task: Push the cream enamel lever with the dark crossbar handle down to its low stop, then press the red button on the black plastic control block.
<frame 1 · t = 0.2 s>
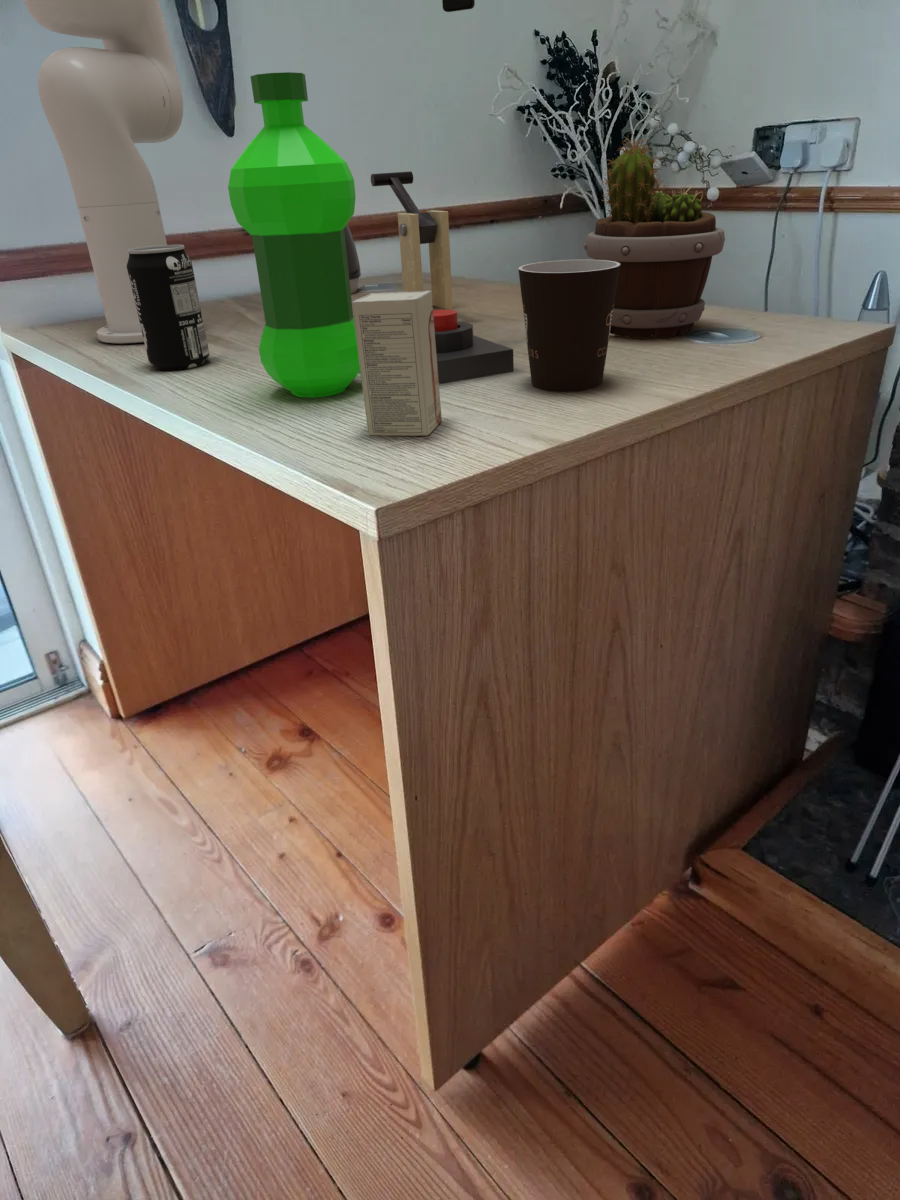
hand: (436, 3, 74), 31 cm above the table, tool pointing down, fingers open, 9 cm apart
pump dispenser: (331, 304, 122), on the table
coffee mug: (573, 381, 74), on the table
lever bracket: (429, 319, 105), on the table
flowerpot: (647, 332, 92), on the table
button: (439, 321, 78), point 4 cm above the table, slide at 0.1 cm
control block: (441, 368, 81), on the table
beverage can: (181, 366, 89), on the table
plastic bottle: (319, 392, 75), on the table
medicine carton: (404, 431, 63), on the table
lever: (408, 204, 102), point 14 cm above the table, hinge at 30.0°
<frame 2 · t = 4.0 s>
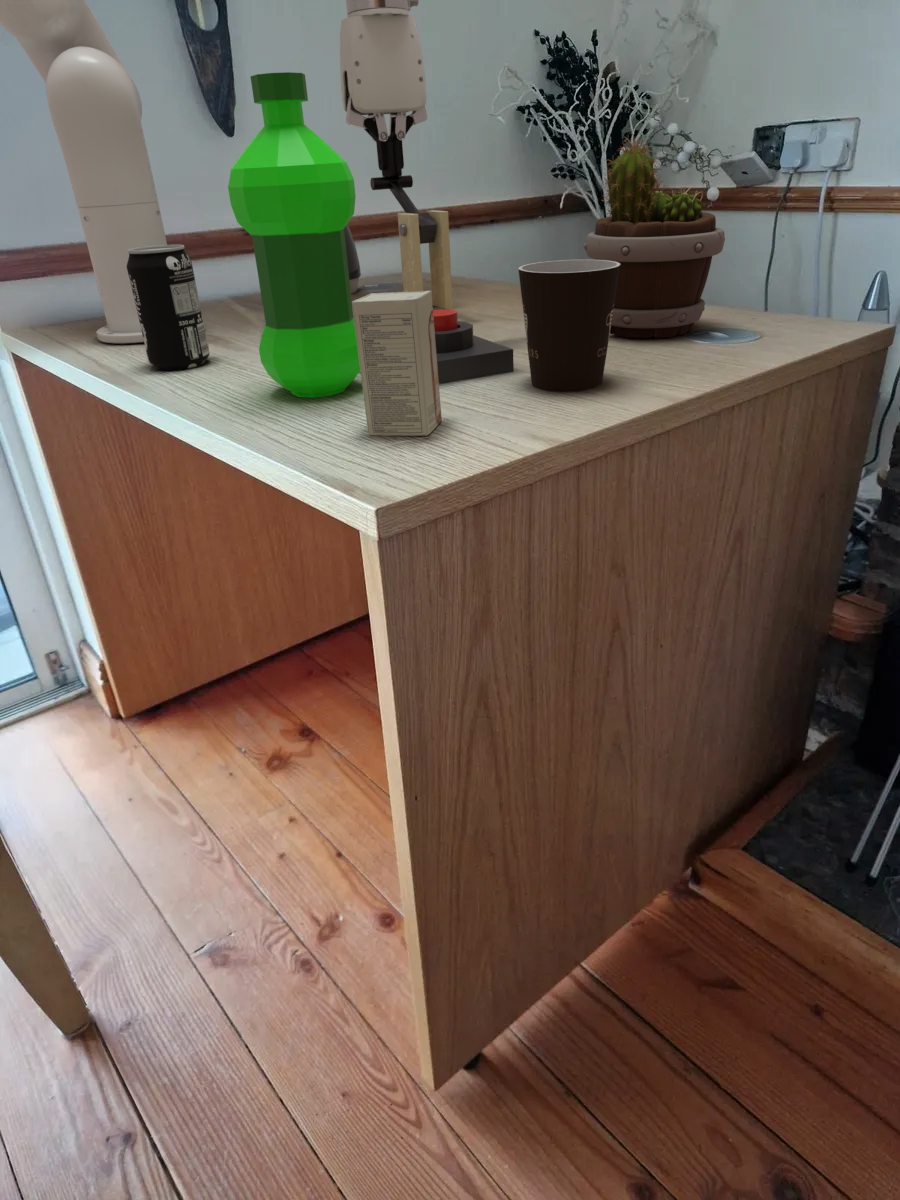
hand: (392, 175, 105), 17 cm above the table, tool pointing down, fingers closed
lever: (408, 206, 102), point 13 cm above the table, hinge at 27.3°, touching gripper
everything else where it was.
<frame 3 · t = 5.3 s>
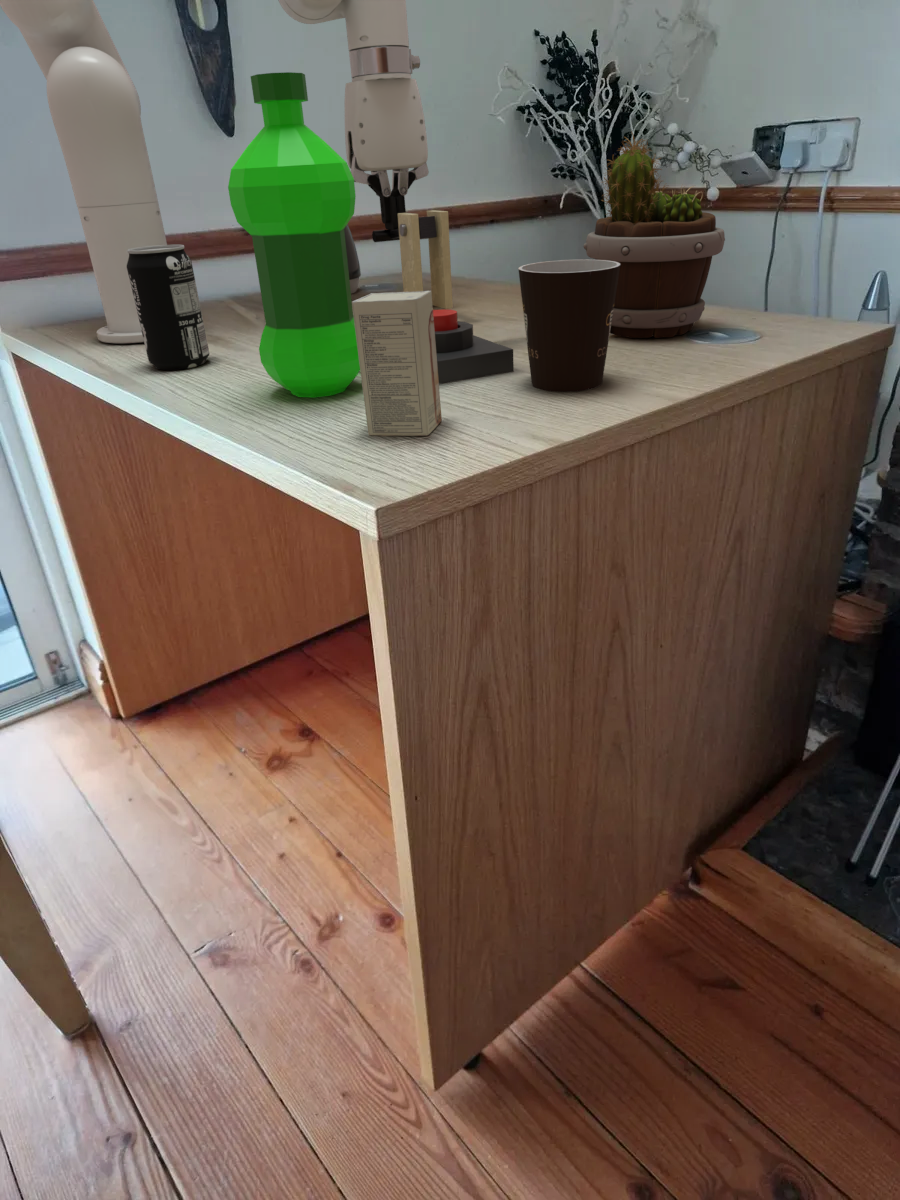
hand: (394, 228, 108), 10 cm above the table, tool pointing down, fingers closed
lever: (408, 231, 104), point 10 cm above the table, hinge at -6.8°, touching gripper
everything else where it was.
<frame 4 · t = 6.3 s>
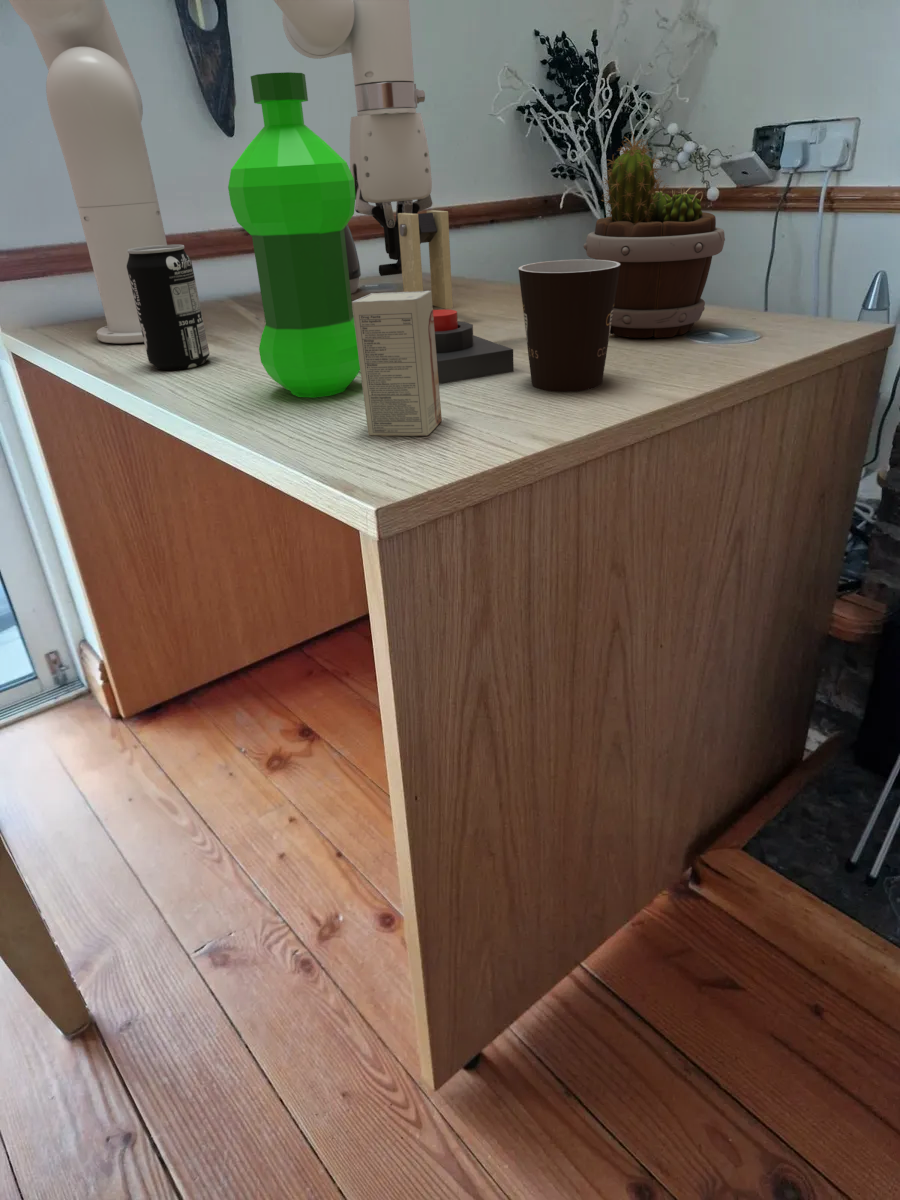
hand: (398, 258, 109), 7 cm above the table, tool pointing down, fingers closed
lever: (411, 248, 104), point 8 cm above the table, hinge at -29.9°, touching gripper
everything else where it was.
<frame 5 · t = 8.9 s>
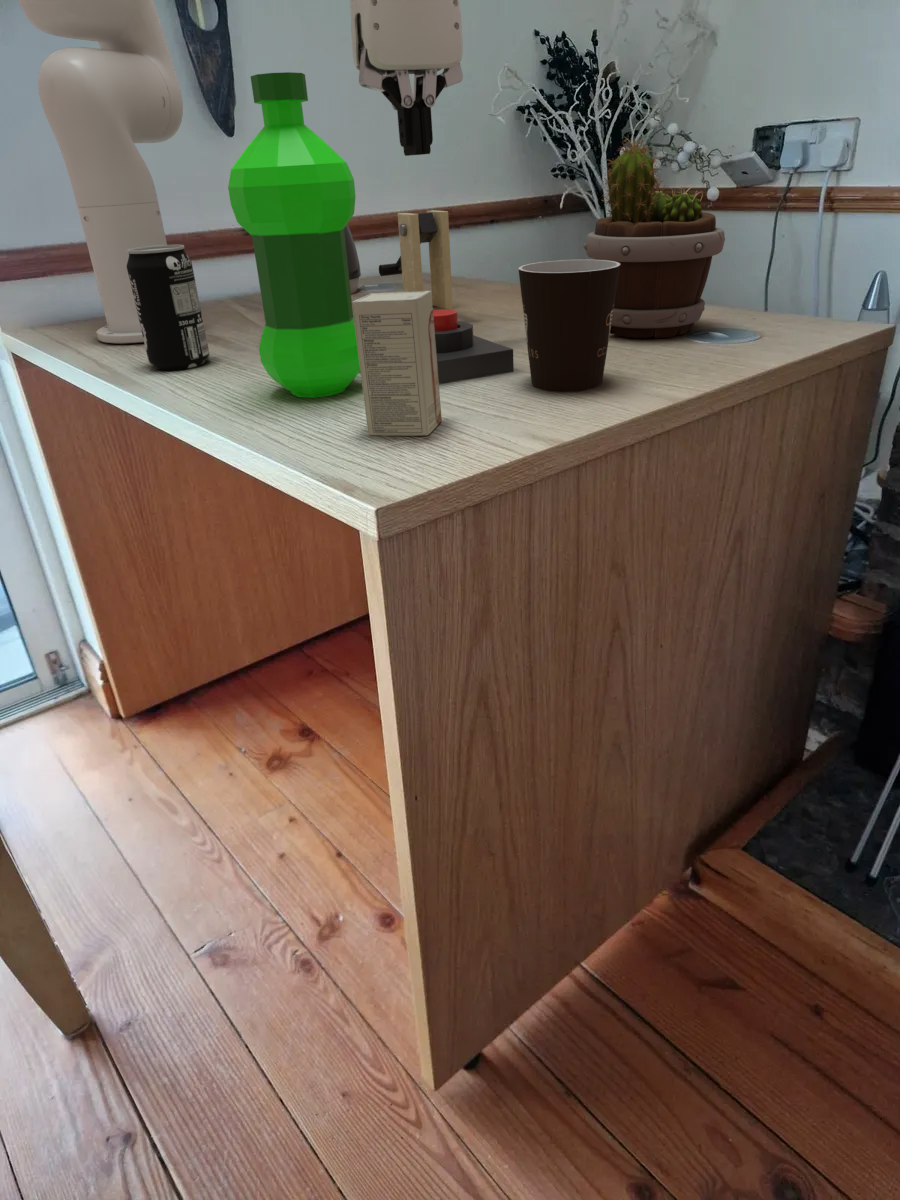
hand: (417, 154, 81), 19 cm above the table, tool pointing down, fingers closed
lever: (411, 248, 104), point 8 cm above the table, hinge at -29.9°
everything else where it was.
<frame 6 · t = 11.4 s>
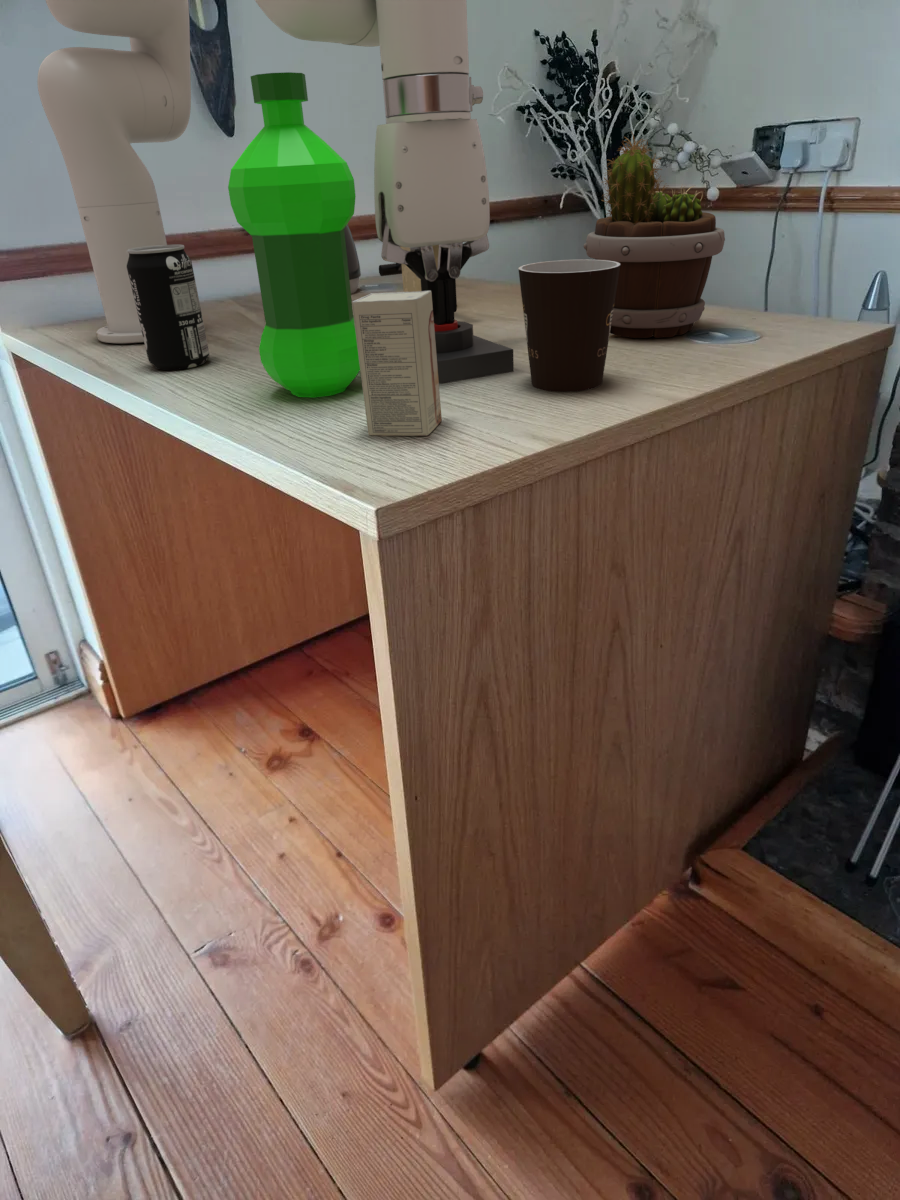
hand: (440, 321, 78), 5 cm above the table, tool pointing down, fingers closed
button: (439, 331, 79), point 4 cm above the table, slide at -0.8 cm, touching gripper
everything else where it was.
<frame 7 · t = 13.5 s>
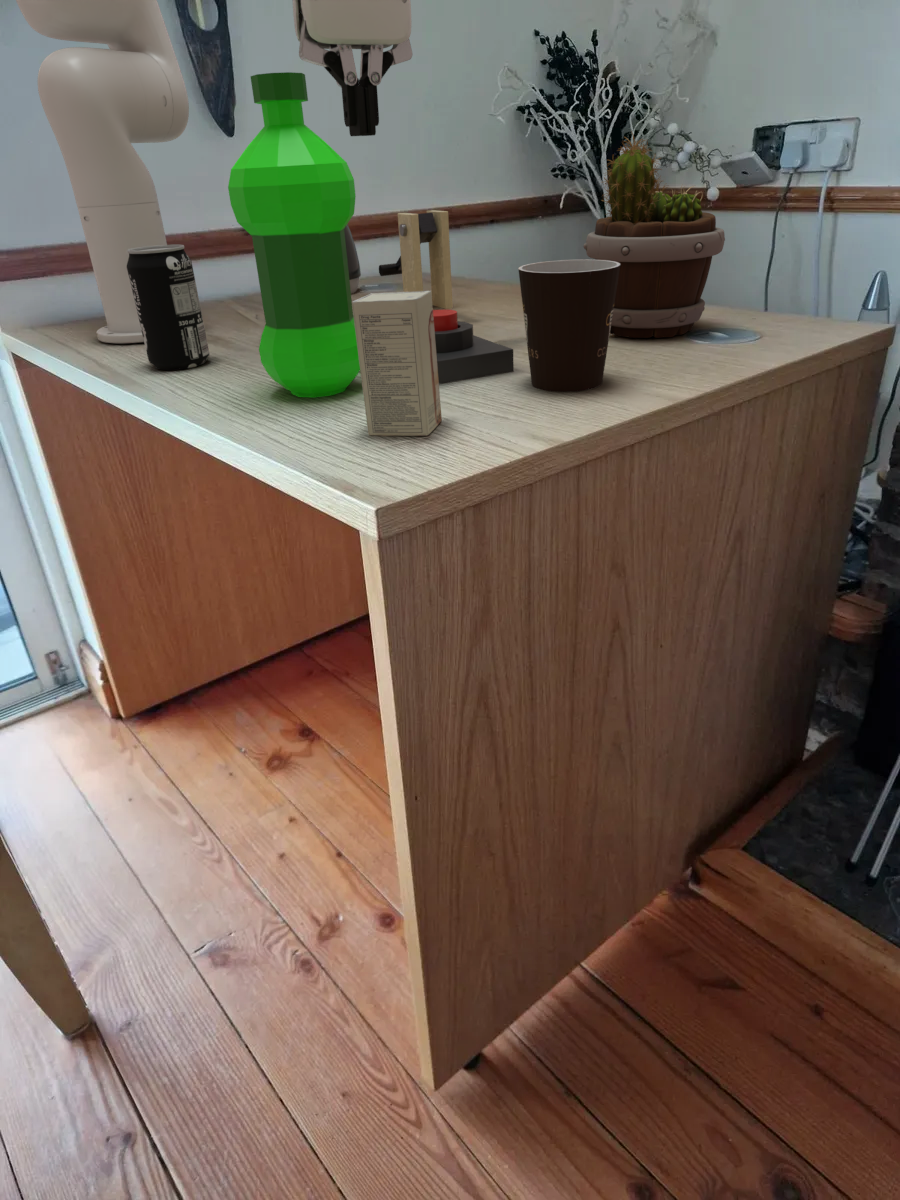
hand: (362, 135, 77), 21 cm above the table, tool pointing down, fingers closed
button: (439, 321, 78), point 4 cm above the table, slide at 0.1 cm
everything else where it was.
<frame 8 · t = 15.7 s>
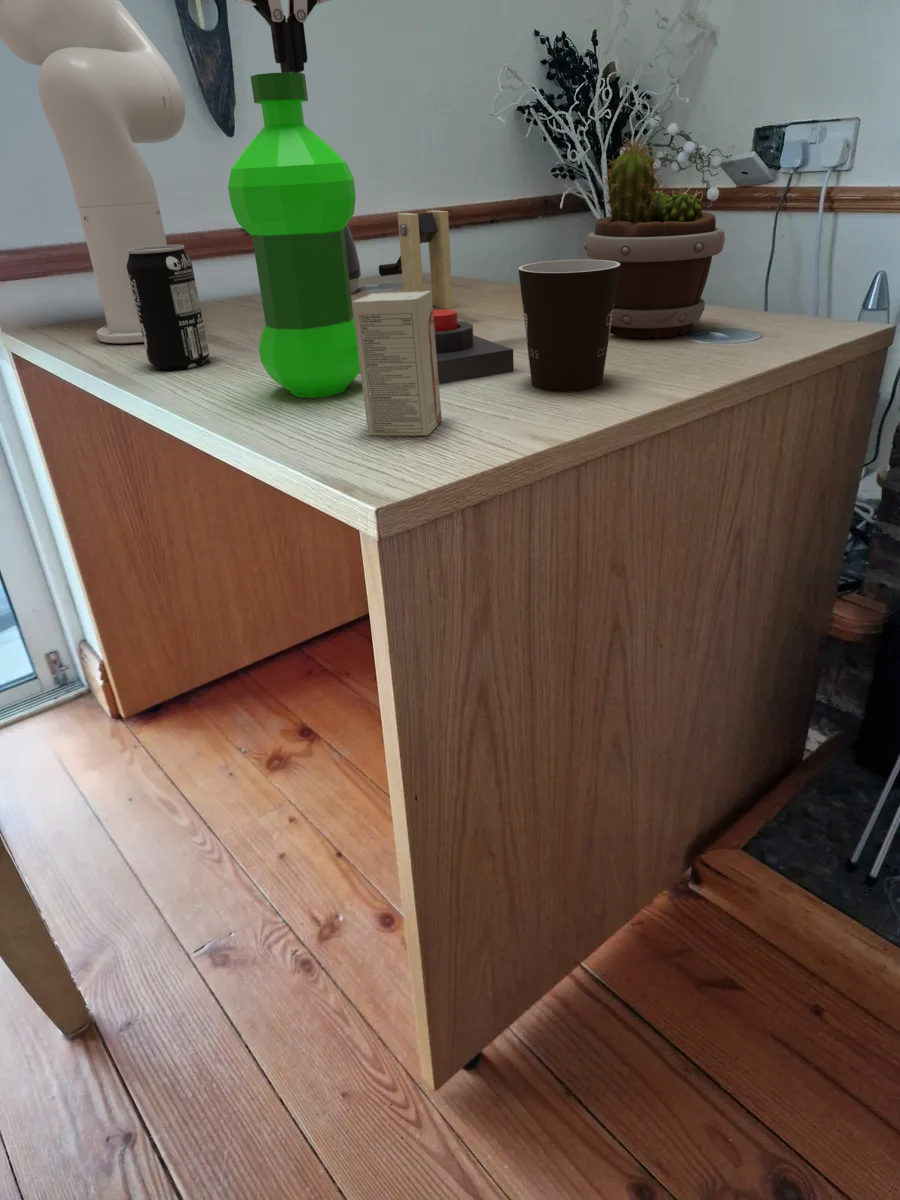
hand: (292, 71, 81), 27 cm above the table, tool pointing down, fingers closed
nothing on the table moved.
at the end: lever at -30° (first picture: +30°); button pushed in 1.1 cm at the most during the clip, back to where it started at the end; button slide at 0.1 cm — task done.
